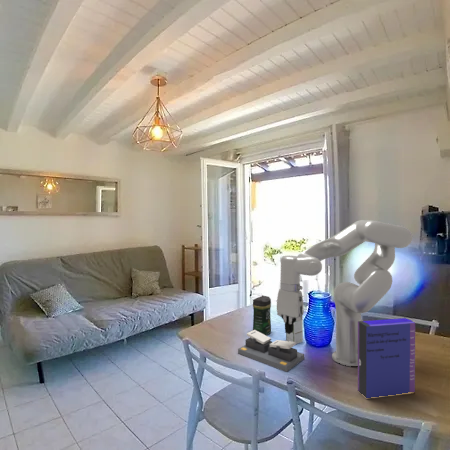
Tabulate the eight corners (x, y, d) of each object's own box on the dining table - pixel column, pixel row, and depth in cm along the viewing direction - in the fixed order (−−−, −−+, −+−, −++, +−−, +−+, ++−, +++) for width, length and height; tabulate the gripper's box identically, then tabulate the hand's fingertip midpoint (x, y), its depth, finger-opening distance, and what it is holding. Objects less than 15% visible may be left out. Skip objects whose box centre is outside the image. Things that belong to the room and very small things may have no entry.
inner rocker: (295, 344, 125) (295, 341, 125) (288, 349, 121) (288, 346, 121) (277, 342, 131) (276, 339, 131) (269, 346, 127) (269, 344, 127)
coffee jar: (264, 338, 149) (264, 300, 148) (250, 334, 154) (250, 297, 153) (273, 332, 157) (273, 295, 156) (260, 328, 161) (259, 293, 161)
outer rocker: (270, 340, 133) (271, 338, 133) (263, 344, 129) (263, 342, 129) (254, 331, 139) (254, 329, 139) (246, 335, 135) (246, 333, 135)
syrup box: (303, 341, 144) (303, 311, 144) (294, 344, 141) (293, 313, 141) (294, 337, 149) (294, 308, 149) (285, 340, 146) (285, 310, 146)
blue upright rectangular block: (404, 385, 107) (404, 317, 106) (414, 393, 102) (415, 322, 101) (357, 391, 104) (357, 320, 103) (366, 399, 99) (366, 325, 98)
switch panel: (304, 358, 127) (304, 342, 127) (286, 371, 117) (286, 354, 117) (257, 343, 144) (257, 328, 143) (238, 353, 133) (237, 337, 133)
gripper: (311, 288, 120) (310, 335, 121) (278, 282, 130) (278, 325, 131) (302, 292, 115) (301, 340, 115) (268, 285, 125) (268, 330, 125)
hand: (289, 332), depth 123 cm, fingers closed
